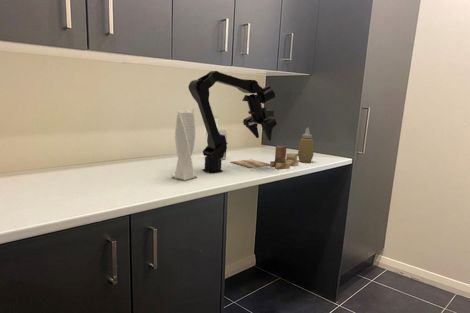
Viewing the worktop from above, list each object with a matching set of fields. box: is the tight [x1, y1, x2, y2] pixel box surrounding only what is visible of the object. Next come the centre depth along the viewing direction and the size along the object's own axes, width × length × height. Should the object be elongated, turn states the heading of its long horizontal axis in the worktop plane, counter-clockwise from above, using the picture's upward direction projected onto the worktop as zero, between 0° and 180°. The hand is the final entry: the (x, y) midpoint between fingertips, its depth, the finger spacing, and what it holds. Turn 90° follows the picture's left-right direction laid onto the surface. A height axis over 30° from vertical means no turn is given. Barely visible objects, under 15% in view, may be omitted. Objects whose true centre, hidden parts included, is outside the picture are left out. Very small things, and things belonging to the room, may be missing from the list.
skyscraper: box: [171, 105, 198, 182], centre depth 127 cm, size 8×8×28 cm
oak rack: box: [269, 160, 291, 170], centre depth 158 cm, size 7×6×2 cm
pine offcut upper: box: [286, 152, 298, 161], centre depth 164 cm, size 4×4×3 cm
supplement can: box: [217, 128, 228, 161], centre depth 172 cm, size 8×8×15 cm
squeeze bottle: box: [297, 127, 314, 164], centre depth 174 cm, size 8×8×18 cm
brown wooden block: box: [273, 145, 288, 168], centre depth 157 cm, size 4×3×10 cm
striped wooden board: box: [229, 158, 270, 169], centre depth 163 cm, size 14×14×1 cm
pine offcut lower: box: [285, 159, 300, 167], centre depth 165 cm, size 5×5×3 cm
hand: (263, 139), depth 156 cm, fingers open, 9 cm apart
